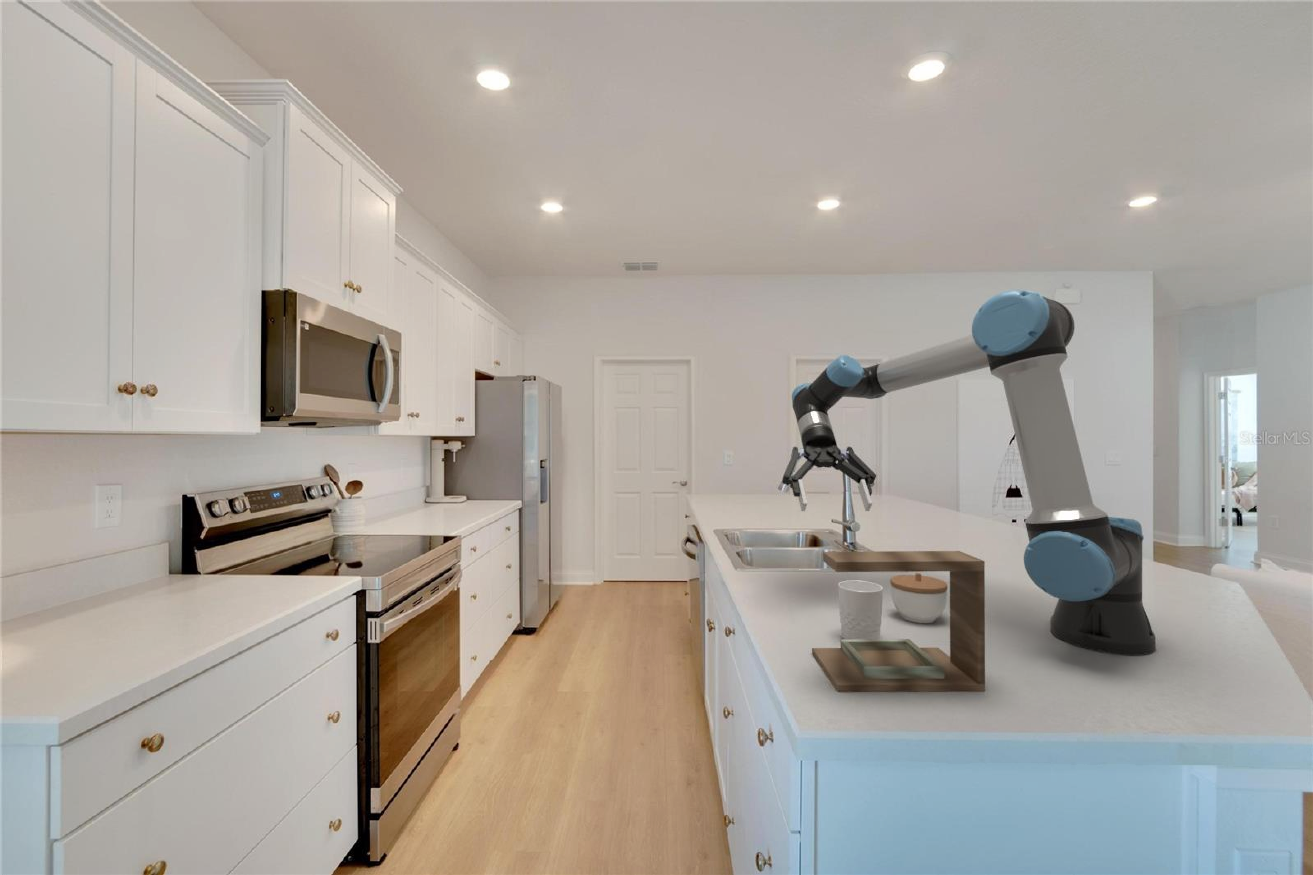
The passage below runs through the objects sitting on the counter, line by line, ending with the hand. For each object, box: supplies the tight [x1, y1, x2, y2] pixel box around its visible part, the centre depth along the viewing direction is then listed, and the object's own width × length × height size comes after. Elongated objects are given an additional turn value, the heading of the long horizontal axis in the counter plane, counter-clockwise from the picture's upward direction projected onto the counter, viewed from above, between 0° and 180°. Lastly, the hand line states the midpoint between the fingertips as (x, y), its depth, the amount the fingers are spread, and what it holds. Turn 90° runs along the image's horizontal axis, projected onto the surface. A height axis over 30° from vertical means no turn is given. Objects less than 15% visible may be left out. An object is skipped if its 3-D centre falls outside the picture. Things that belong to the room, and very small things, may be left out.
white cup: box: [837, 579, 884, 639], centre depth 103 cm, size 8×8×10 cm
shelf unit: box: [811, 550, 986, 693], centre depth 89 cm, size 22×14×20 cm, turn 89°
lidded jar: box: [889, 572, 948, 624], centre depth 114 cm, size 11×11×9 cm
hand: (836, 507), depth 115 cm, fingers open, 13 cm apart
